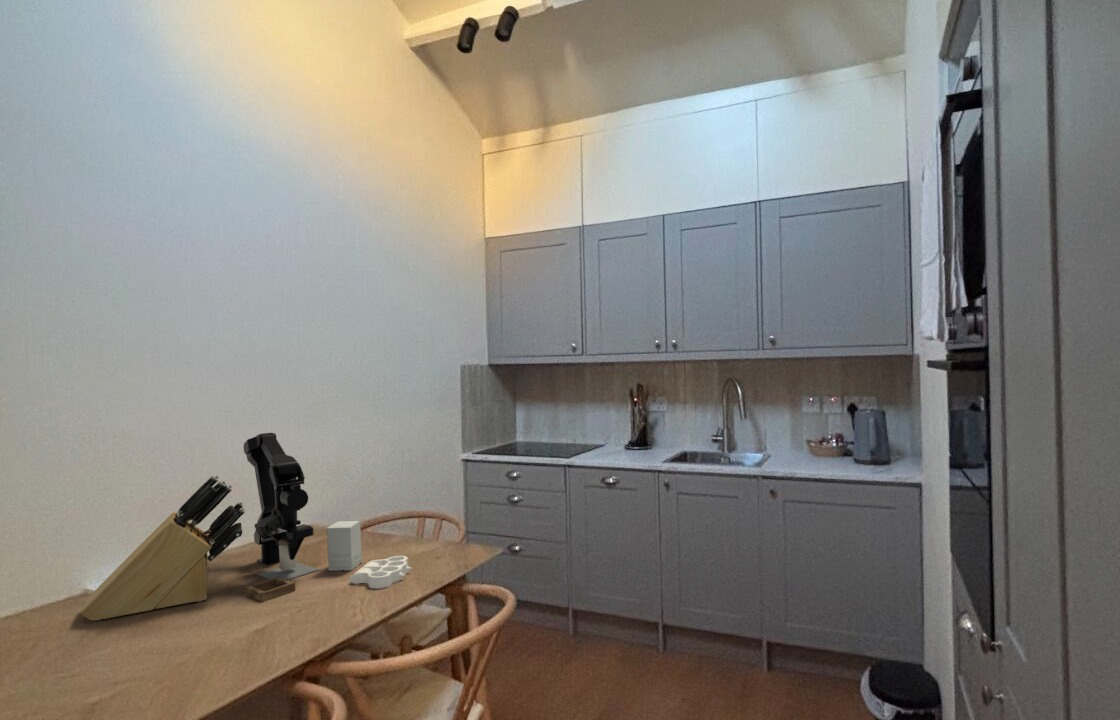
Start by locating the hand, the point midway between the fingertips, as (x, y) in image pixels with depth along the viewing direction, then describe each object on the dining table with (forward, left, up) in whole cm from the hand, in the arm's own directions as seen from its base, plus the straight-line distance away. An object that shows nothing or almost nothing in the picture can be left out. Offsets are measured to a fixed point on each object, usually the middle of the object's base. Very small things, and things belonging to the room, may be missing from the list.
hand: (287, 558), depth 176 cm
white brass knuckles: (+27, +13, -5) cm, 30 cm away
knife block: (-6, -29, -4) cm, 29 cm away
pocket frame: (+11, -11, -4) cm, 16 cm away
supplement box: (+10, +12, -4) cm, 16 cm away
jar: (0, 0, -3) cm, 3 cm away
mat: (0, 0, -4) cm, 4 cm away
